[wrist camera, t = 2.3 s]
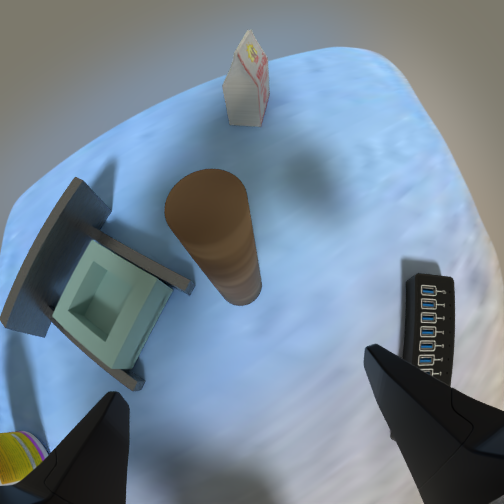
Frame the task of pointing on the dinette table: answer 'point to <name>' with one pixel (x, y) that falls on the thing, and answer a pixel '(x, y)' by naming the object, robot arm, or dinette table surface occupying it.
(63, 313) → the sliding socket block
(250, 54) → the gable top carton
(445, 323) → the multiport hub
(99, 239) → the rail and backstop frame
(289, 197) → the dinette table surface
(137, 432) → the dinette table surface
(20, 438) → the supplement bottle
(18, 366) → the dinette table surface
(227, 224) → the walnut dowel
